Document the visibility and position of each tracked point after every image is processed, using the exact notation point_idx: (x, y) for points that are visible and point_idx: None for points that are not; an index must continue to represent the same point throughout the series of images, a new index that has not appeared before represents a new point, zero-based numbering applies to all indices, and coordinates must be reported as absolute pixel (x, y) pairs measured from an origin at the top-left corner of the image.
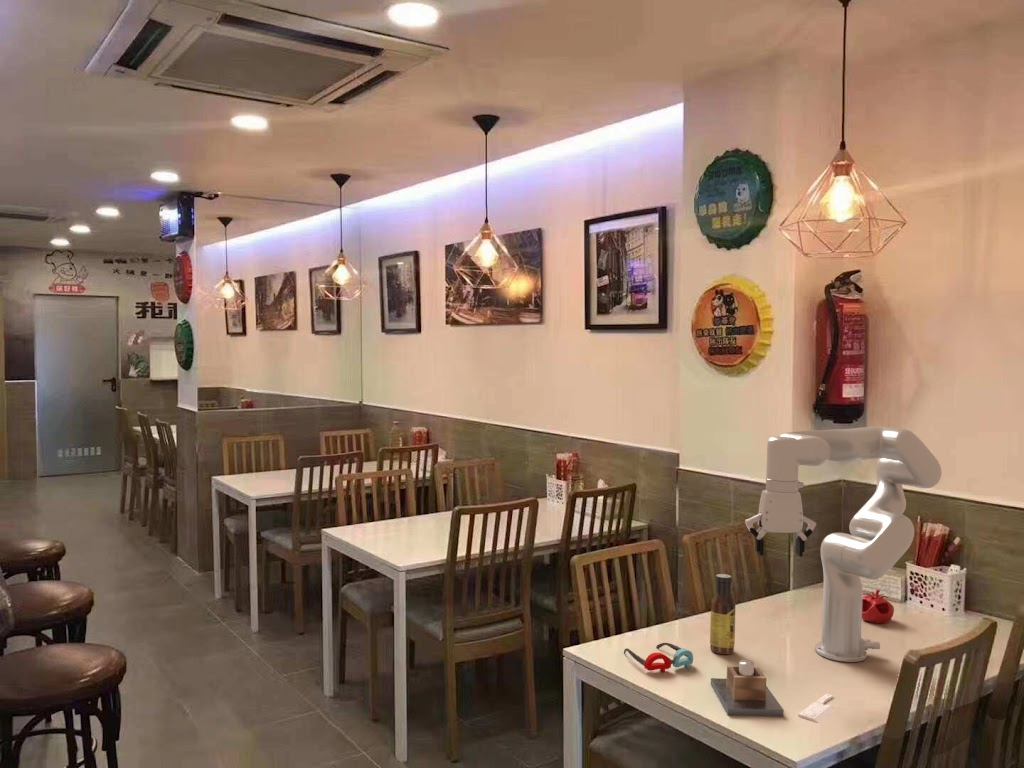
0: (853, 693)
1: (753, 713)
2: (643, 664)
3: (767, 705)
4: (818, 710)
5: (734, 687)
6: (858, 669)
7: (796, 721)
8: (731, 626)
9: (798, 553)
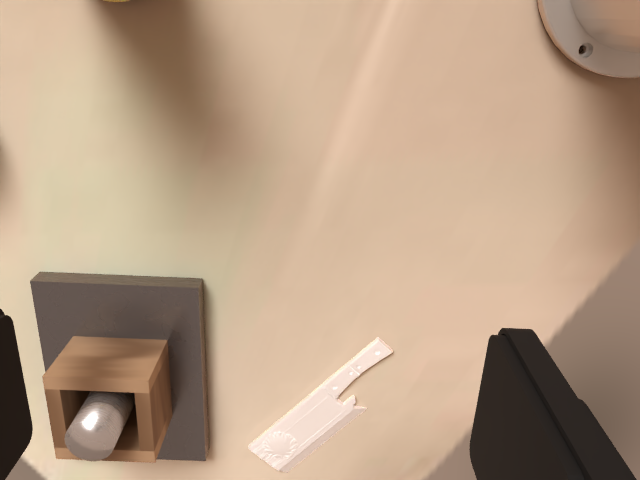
0: (469, 323)
1: None
2: None
3: (169, 441)
4: (309, 431)
5: None
6: (606, 138)
7: (234, 467)
8: None
9: (479, 440)
